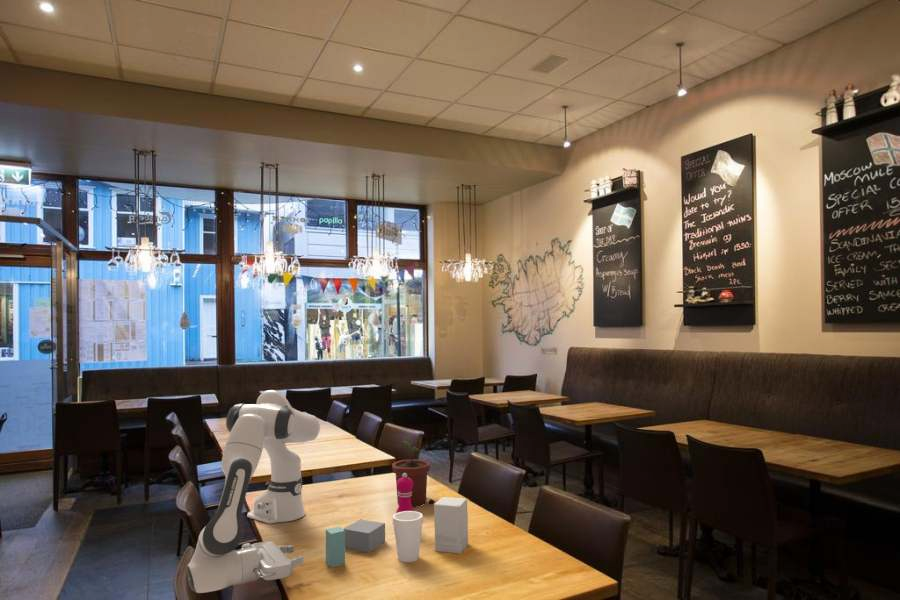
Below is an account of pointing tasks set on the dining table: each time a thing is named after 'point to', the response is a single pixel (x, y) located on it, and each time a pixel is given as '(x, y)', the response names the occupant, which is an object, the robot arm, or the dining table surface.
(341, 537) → the block
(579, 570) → the dining table surface
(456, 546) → the supplement box
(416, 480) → the potted plant
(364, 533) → the pedestal
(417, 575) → the dining table surface
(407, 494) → the pepper mill
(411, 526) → the foam cup
